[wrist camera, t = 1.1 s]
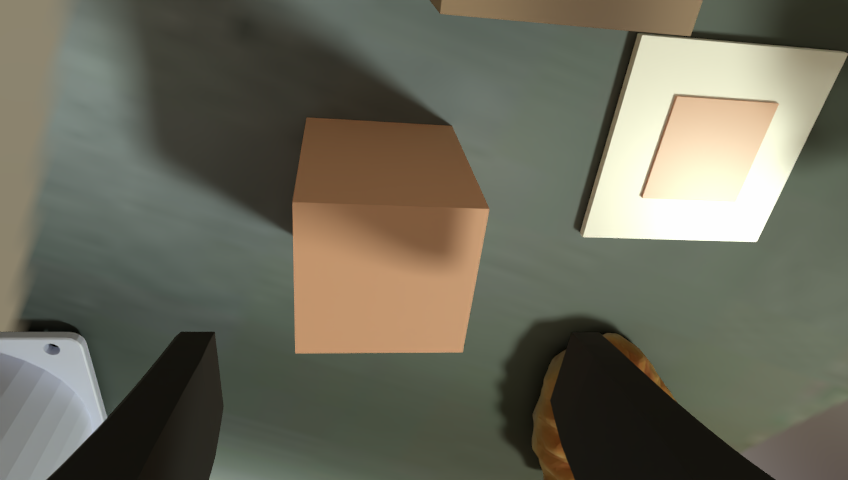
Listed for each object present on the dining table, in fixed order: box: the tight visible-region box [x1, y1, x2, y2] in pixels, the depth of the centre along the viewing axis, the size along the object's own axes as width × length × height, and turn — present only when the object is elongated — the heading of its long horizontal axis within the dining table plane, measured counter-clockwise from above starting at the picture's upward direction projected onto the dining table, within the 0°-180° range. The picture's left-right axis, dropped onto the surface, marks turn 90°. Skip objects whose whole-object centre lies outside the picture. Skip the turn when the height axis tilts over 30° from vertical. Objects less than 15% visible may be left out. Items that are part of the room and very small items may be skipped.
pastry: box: [532, 333, 676, 480], centre depth 24 cm, size 9×7×4 cm
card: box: [580, 33, 848, 242], centre depth 19 cm, size 7×7×1 cm
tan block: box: [292, 117, 489, 353], centre depth 16 cm, size 4×4×6 cm
